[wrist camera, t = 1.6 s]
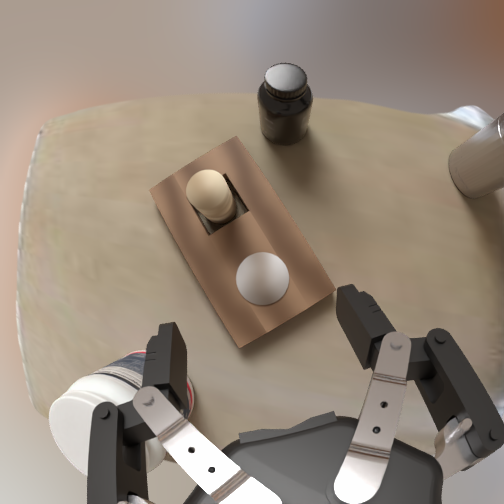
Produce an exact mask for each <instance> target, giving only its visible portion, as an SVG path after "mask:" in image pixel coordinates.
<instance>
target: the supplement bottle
mask: <svg viewBox="0 0 504 504" xmlns="http://www.w3.org/2000/svg"><path fill="white" fill-rule="evenodd" d="M312 102H313V94H312V90H311V88H310V87H309V85H308V84H307V75H306V74H305V72H304V71H303V69H301V68H300V67H298V66H297V65H294V64H290V63H280V64H276V65H273V66H271V67H270V68H269V69H268V70H267V71H266V74H265V81H264V82H263V83H262V84H261V86H260V87H259V90H258V107H259V116H260V125H261V130H262V132H263V134H264V135H265V137H266V138H267V139H269V140H270V141H272V142H274V143H276V144H280V145H290V144H293V143H296V142H298V141H299V140H301V139H302V138H303V137H304V135H305V133H306V131H307V127H308V122H309V117H310V113H311V108H312Z"/></svg>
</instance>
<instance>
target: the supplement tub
mask: <svg viewBox="0 0 504 504" xmlns="http://www.w3.org/2000/svg"><path fill="white" fill-rule="evenodd" d="M145 355H146V350H139V351H134V352H131V353H129V354H127V355H125V356H124V357H122V358H120V359H118V360H117V361H115V362H113V363H111V364H109V365H107V366H105V367H103V368H101V369H99V370H97V371H95V372H93V373H92V374H90V375H88V376H85V377H82V378H80V379H79V380H77V381H76V382H75V383H74V384H73V385H72V386H71V387H70V388H69V389H68V391H67V392H66V393H64V394H63V395H62V396H61V397H60V398H58V399H57V400H55V401H54V403H53V404H52V406H51V408H50V412H49V424H50V429H51V432H52V435H53V437H54V440H55V442H56V444H57V445H58V447H59V448H60V450H61V452H62V453H63V454H64V456H65V457H66V458H67V459H68V460H69V462H71V464H72V465H74V467H75V468H77V469H78V470H79V471H80V472H81V473H83V474H84V475H85V476H87V475H88V454H89V440H90V430H91V420H92V413H93V410H94V408H95V407H96V406H97V405H98V404H100V403H102V402H106V401H108V402H112V403H113V404H115V405H116V406H118V405H120V404H123V403H126V402H128V401H131V400H132V399H133V397H134V395H135V394H136V392H137V391H138V390H140V389H141V387H142V379H143V371H144V363H145ZM193 406H194V392H193V387H192V384H191V382H190V380H189V378H188V376H187V409H183V410H181V415H182V416H183V417H184V418H186V419H188V417H189V416H190V414H191V412H192V410H193ZM145 451H146V472H147V473H148V472H150V471H152V470H153V469H155V468H156V467H157V466H158V465H159V464H160V463H161V462H162V461H163V459H164V457H165V455H166V453H167V452H168V451H167V450H166V449H165V448H164V447H163V445H162V444H161V443H160V442H159V440H158V437H155V438H153V439H150V440H147V441H145Z"/></svg>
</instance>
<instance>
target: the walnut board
mask: <svg viewBox="0 0 504 504" xmlns="http://www.w3.org/2000/svg"><path fill="white" fill-rule="evenodd" d="M202 170H214V171H217V172H219V173H220V174H221V175H222V176H223V177H224V179H225V181H226V180H228V179H229V181H230V183H231V184H232V186H233V187H234V189H235V190H236V192H237V194H238V195H239V197H240V198H241V200H242V202H243V203H244V205H245V206H246V208H247V209H248V212H247V213H245V214H243V215H242V216H240V217H238V218H237V219H235V220H233V221H232V222H230V223H229V224H227V225H225V226H224V227H222V228H220V229H219V230H217V231H216V232H214V233H212V234H211V235H210V233H209V232H208V230H207V228H206V227H205V225H204V223H203V221H202V220H201V218H200V216H199V215H198V213H197V211H196V209H195V208H194V206H193V205H192V204H191V203H190V202H189V200H188V198H187V194H186V188H187V184H188V182H189V180H190V179H191V177H192V176H193V175H194V174H196V173H197V172H199V171H202ZM149 191H150V193H151V195H152V197H153V199H154V201H155V203H156V205H157V207H158V209H159V211H160V213H161V215H162V216H163V218H164V220H165V222H166V224H167V226H168V228H169V230H170V231H171V233H172V235H173V237H174V239H175V241H176V243H177V244H178V246H179V248H180V250H181V252H182V253H183V255H184V257H185V259H186V261H187V262H188V264H189V266H190V268H191V269H192V271H193V273H194V275H195V276H196V278H197V280H198V282H199V283H200V285H201V287H202V288H203V290H204V292H205V294H206V295H207V297H208V299H209V300H210V302H211V304H212V305H213V307H214V309H215V310H216V312H217V314H218V315H219V317H220V318H221V320H222V322H223V323H224V325H225V327H226V328H227V330H228V331H229V333H230V335H231V336H232V338H233V339H234V341H235V343H236V344H237V346H238V347H239V348H241V347H243V346H245V345H246V344H248V343H250V342H252V341H254V340H255V339H257V338H259V337H261V336H262V335H264V334H266V333H267V332H269V331H271V330H273V329H274V328H276V327H278V326H279V325H281V324H283V323H284V322H286V321H288V320H289V319H291V318H293V317H294V316H296V315H298V314H299V313H301V312H302V311H304V310H306V309H307V308H309V307H311V306H312V305H314V304H315V303H317V302H318V301H320V300H322V299H323V298H325V297H326V296H328V295H329V294H331V293H332V292H334V291H335V290H336V289H335V287H334V285H333V284H332V282H331V280H330V279H329V277H328V275H327V274H326V272H325V270H324V269H323V267H322V265H321V264H320V262H319V260H318V259H317V257H316V255H315V254H314V252H313V251H312V249H311V247H310V246H309V244H308V242H307V241H306V239H305V238H304V236H303V234H302V233H301V231H300V230H299V228H298V226H297V225H296V223H295V222H294V220H293V219H292V217H291V215H290V214H289V212H288V211H287V209H286V208H285V206H284V205H283V203H282V202H281V200H280V198H279V197H278V195H277V194H276V192H275V191H274V189H273V188H272V186H271V185H270V183H269V182H268V180H267V179H266V177H265V176H264V174H263V173H262V171H261V170H260V169H259V167H258V166H257V164H256V163H255V161H254V160H253V158H252V157H251V155H250V154H249V152H248V151H247V150H246V148H245V147H244V145H243V144H242V142H241V141H240V140H239V138H238V137H237V136H235V137H233V138H232V139H230V140H228V141H226V142H225V143H223V144H221V145H219V146H218V147H216V148H214V149H212V150H211V151H209V152H207V153H206V154H204V155H202V156H201V157H199V158H197V159H196V160H194V161H193V162H191V163H189V164H188V165H186V166H185V167H183V168H181V169H180V170H178V171H177V172H175V173H174V174H172V175H171V176H169V177H168V178H166V179H165V180H163V181H162V182H160V183H159V184H157V185H156V186H154V187H153V188H151V189H150V190H149Z"/></svg>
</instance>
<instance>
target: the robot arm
mask: <svg viewBox="0 0 504 504" xmlns="http://www.w3.org/2000/svg"><path fill="white" fill-rule="evenodd" d="M449 169H450V173H451V176H452V179H453V181H454V183H455V184H456V186H457V187H458V189H459V190H460V191H461V192H462V193H463V194H464V195H466V196H468V197H469V198H478V197H481V196H483V195H486V194H488V193H491V192H494V191H496V190H498V189H501V188H503V187H504V113H503V114H502V115H500V116H499V117H498V118H496V119H495V120H494V121H492V122H491V123H490V124H488V125H487V126H486V127H484V128H483V129H482V130H480V131H479V132H478V133H476V134H475V135H474V136H472V137H471V138H469V139H468V140H467V141H465V142H464V143H463V144H461V145H460V146H458V147H457V148H456V149H454V150H453V151H452V153H451V154H450V157H449ZM336 314H337V318H338V321H339V323H340V325H341V327H342V329H343V331H344V332H345V334H346V336H347V338H348V340H349V342H350V344H351V346H352V348H353V350H354V352H355V353H356V355H357V357H358V359H359V361H360V363H361V365H362V367H363V369H364V370H365V369H368V368H370V367H371V369H372V370H373V374H372V378H371V381H370V384H369V388H368V391H367V394H366V397H365V400H364V403H363V406H362V409H361V412H360V415H359V418H358V419H356V418H352V417H346V416H335V413H334V411H332V412H329V413H326V414H322V415H319V416H315V417H312V418H310V419H308V420H306V421H304V422H302V423H300V424H298V425H296V426H294V427H292V428H290V429H261V430H255V431H250V432H244V433H239V438H240V439H238V440H236V441H234V442H232V443H230V444H229V445H227V446H226V447H225V448H224V449H223V450H222V451H221V452H220V451H219V450H218V449H217V448H216V447H215V446H214V445H213V444H212V443H211V442H210V441H208V440H207V439H206V438H205V437H204V436H203V435H202V434H201V433H200V432H199V431H198V430H197V429H196V428H195V427H194V426H193V425H192V424H191V423H190V422H189V421H188V420H187V419H186V418H184V417H183V416H182V415H181V410H183V409H187V349H186V345H185V342H184V340H183V338H182V336H181V333H180V331H179V329H178V327H177V325H176V323H175V322H171V323H165V324H160V325H159V331H158V335H157V336H152V337H151V339H150V340H149V342H148V344H147V348H146V355H145V363H144V371H143V379H142V387H141V389H140V390H138V391H137V392H136V394H135V395H134V397H133V399H132V400H131V401H128V402H126V403H123V404H120V405H118V406H116V405H115V404H113V403H112V402H108V401H106V402H102V403H100V404H98V405H97V406H96V407H95V408H94V410H93V413H92V420H91V430H90V440H89V454H88V475H87V504H154V503H153V502H151V501H149V498H148V486H147V472H146V451H145V441H147V440H150V439H153V438H155V437H158V440H159V442H160V443H161V444H162V445H163V447H164V448H165V449H166V450H167V451H168V452H169V453H170V455H171V456H172V457H173V458H174V459H175V460H176V461H177V462H178V464H179V465H180V466H181V467H182V468H183V469H184V470H185V471H186V472H187V473H188V474H189V475H190V476H191V477H192V478H193V479H194V480H195V481H196V482H197V483H198V484H197V486H196V487H195V489H194V490H193V492H192V493H191V494H190V495H189V497H188V498H187V499H186V501H185V502H184V503H183V504H442V501H441V494H442V485H443V480H445V479H447V478H448V477H450V476H452V475H454V474H455V473H457V472H459V471H465V470H467V469H469V468H471V467H472V466H474V465H475V464H477V463H479V462H480V461H482V460H483V459H485V458H486V457H488V456H489V455H490V454H492V453H493V452H495V451H496V450H497V449H499V448H500V447H501V446H502V445H503V444H504V423H503V421H502V419H501V417H500V415H499V413H498V411H497V409H496V407H495V405H494V404H493V402H492V400H491V398H490V396H489V395H488V393H487V391H486V389H485V388H484V386H483V384H482V383H481V381H480V379H479V378H478V376H477V374H476V373H475V371H474V369H473V368H472V366H471V365H470V363H469V362H468V360H467V358H466V357H465V355H464V354H463V352H462V351H461V349H460V348H459V346H458V345H457V343H456V342H455V340H454V339H453V337H452V336H451V335H450V333H449V332H447V331H446V330H444V329H440V328H436V329H432V330H431V331H429V333H428V334H427V337H422V338H409V337H408V336H407V335H405V334H404V333H401V332H397V331H396V330H395V329H394V327H393V326H392V324H391V323H390V321H389V320H388V318H387V317H386V315H385V314H384V313H383V311H381V308H380V307H379V306H378V305H377V303H376V301H375V300H374V299H373V297H372V296H371V295H369V294H367V293H366V292H364V291H363V292H358V290H357V289H356V288H355V286H354V285H353V284H349V285H345V286H342V287H338V289H337V301H336ZM409 380H414V381H415V383H416V385H417V387H418V389H419V391H420V393H421V395H422V397H423V399H424V401H425V404H426V406H427V408H428V410H429V412H430V414H431V416H432V418H433V421H434V423H435V425H436V427H437V429H438V432H439V433H438V434H437V435H436V437H435V441H434V445H435V449H436V453H435V457H433V456H431V455H429V454H427V453H425V452H423V451H421V450H418V449H416V448H414V447H412V446H410V445H408V444H406V443H404V442H402V441H400V440H398V439H396V438H394V437H395V433H396V430H397V426H398V422H399V418H400V414H401V410H402V406H403V401H404V397H405V392H406V387H407V381H409Z"/></svg>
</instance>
